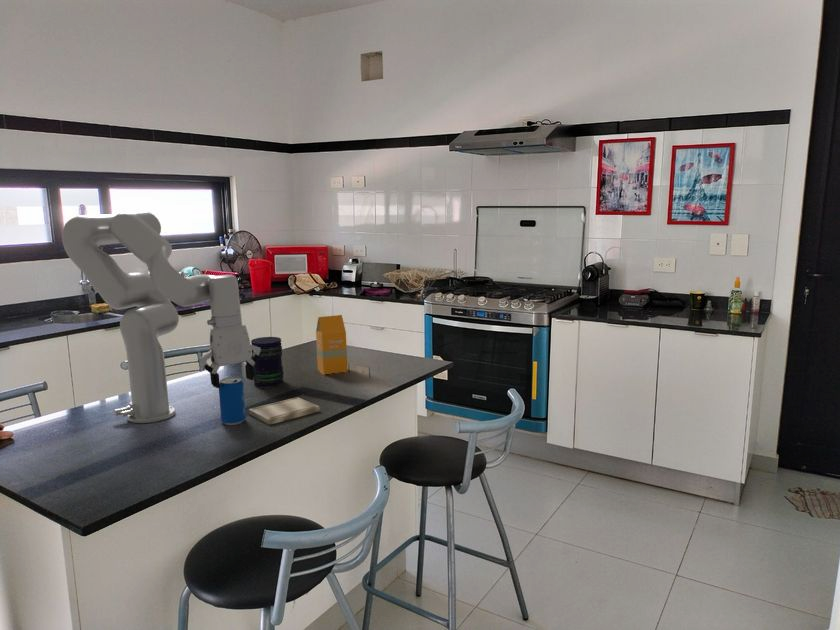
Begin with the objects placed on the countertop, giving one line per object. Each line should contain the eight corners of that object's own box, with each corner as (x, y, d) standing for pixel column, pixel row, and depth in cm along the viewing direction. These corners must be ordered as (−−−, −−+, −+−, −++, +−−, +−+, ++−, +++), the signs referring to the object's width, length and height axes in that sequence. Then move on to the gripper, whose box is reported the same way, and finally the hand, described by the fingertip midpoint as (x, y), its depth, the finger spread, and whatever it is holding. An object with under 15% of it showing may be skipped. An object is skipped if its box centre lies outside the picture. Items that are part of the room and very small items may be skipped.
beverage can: (241, 426, 169) (238, 383, 167) (218, 426, 169) (214, 383, 167) (248, 417, 175) (245, 376, 173) (225, 418, 175) (222, 376, 173)
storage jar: (276, 388, 202) (273, 343, 200) (248, 387, 204) (245, 342, 202) (288, 380, 212) (286, 337, 209) (261, 378, 214) (259, 336, 211)
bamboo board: (269, 424, 169) (268, 419, 169) (248, 414, 178) (248, 408, 178) (319, 411, 180) (319, 405, 179) (298, 401, 188) (297, 396, 188)
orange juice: (317, 370, 224) (314, 315, 220) (341, 367, 228) (338, 313, 224) (323, 375, 217) (321, 319, 213) (347, 372, 221) (345, 316, 217)
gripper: (201, 328, 158) (208, 393, 161) (263, 317, 170) (268, 378, 173) (189, 325, 164) (197, 387, 167) (250, 315, 175) (256, 374, 178)
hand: (233, 383), depth 170 cm, fingers open, 9 cm apart
